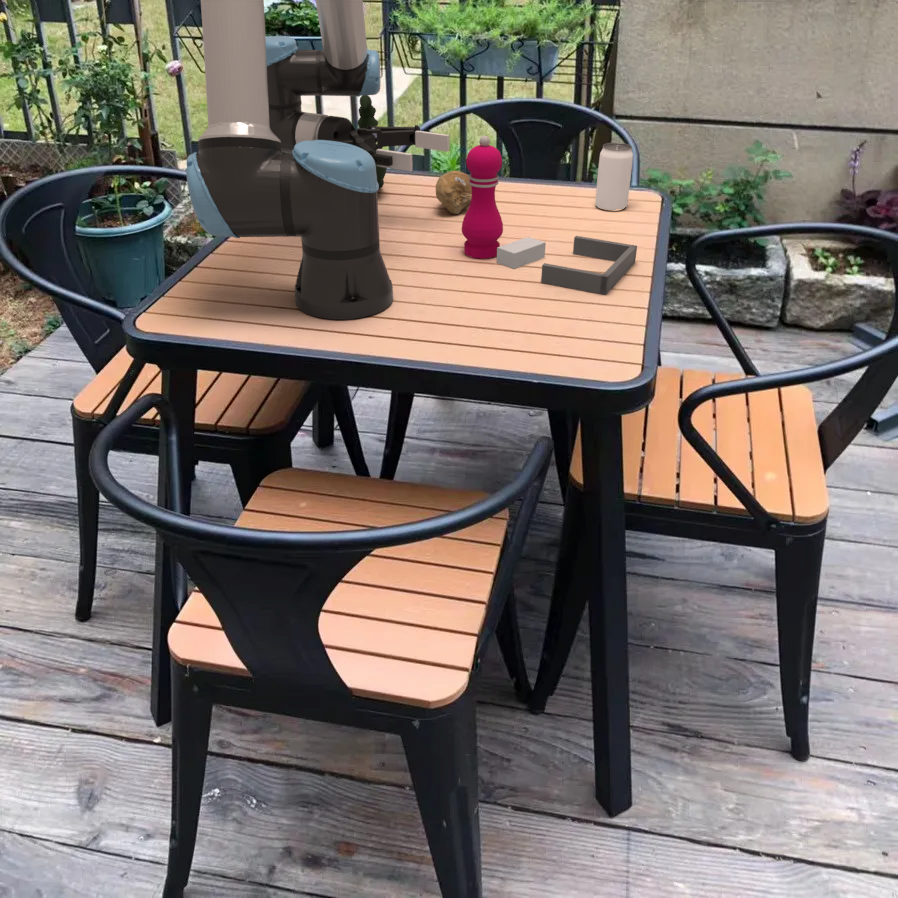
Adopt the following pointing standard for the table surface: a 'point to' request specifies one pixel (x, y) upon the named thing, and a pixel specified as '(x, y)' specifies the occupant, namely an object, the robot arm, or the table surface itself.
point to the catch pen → (586, 279)
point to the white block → (520, 252)
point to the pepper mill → (482, 202)
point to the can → (614, 176)
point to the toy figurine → (365, 120)
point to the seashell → (454, 191)
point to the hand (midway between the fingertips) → (430, 152)
